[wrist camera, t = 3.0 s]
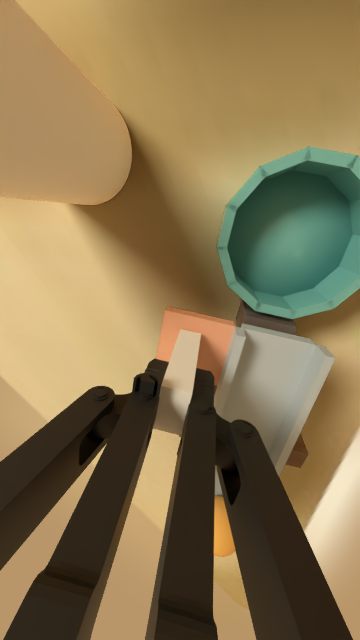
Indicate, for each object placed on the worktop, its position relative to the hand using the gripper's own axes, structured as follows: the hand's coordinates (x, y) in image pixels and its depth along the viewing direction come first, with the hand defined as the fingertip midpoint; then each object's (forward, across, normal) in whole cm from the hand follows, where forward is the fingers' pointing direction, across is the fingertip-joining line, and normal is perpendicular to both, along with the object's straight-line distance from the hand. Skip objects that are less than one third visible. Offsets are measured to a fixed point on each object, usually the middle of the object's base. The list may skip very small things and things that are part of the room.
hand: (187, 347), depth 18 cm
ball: (-2, +6, -15) cm, 16 cm away
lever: (+2, +4, -8) cm, 9 cm away
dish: (+8, +6, +8) cm, 13 cm away
